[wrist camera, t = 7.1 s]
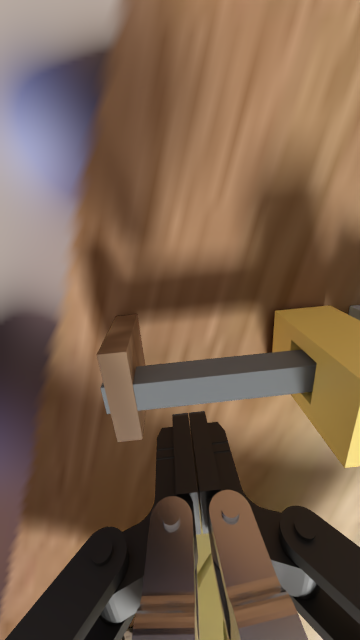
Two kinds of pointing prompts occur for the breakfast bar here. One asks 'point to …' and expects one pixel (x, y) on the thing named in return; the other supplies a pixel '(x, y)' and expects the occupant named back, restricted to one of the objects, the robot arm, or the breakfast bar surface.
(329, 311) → the yellow sliding collar
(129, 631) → the candy bar box
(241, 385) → the grey slider rail
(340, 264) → the breakfast bar surface
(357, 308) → the block
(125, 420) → the tan flat end block
